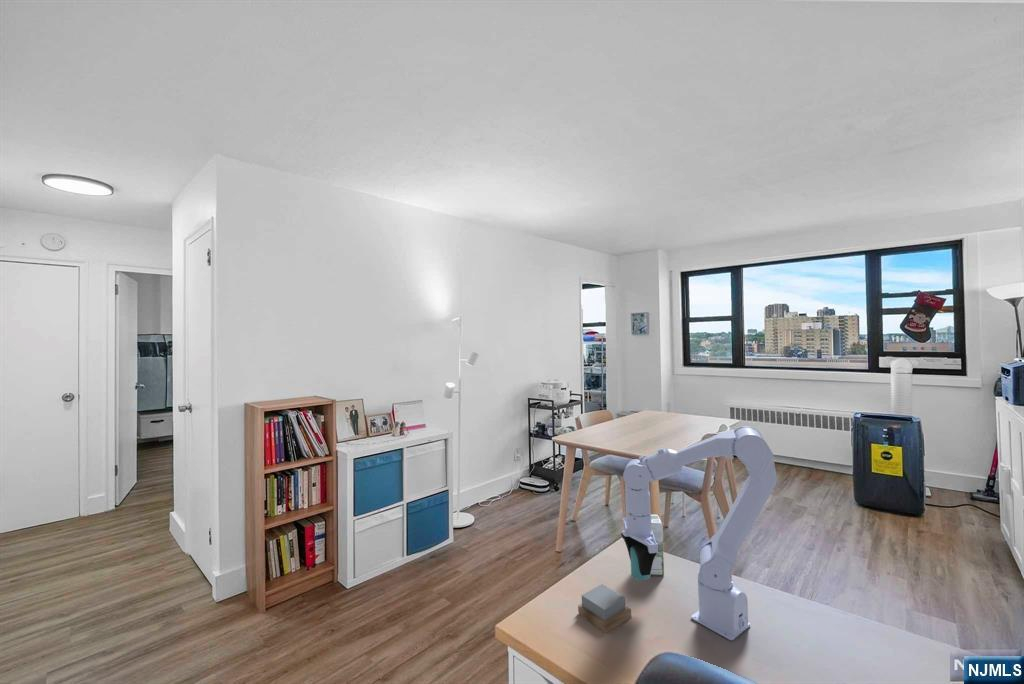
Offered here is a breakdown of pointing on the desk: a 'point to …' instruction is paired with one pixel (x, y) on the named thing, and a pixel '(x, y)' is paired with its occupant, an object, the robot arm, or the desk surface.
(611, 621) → the walnut slab
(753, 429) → the robot arm
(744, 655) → the desk surface
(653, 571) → the syrup box
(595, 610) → the grey slab
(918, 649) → the desk surface
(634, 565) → the teal capsule
